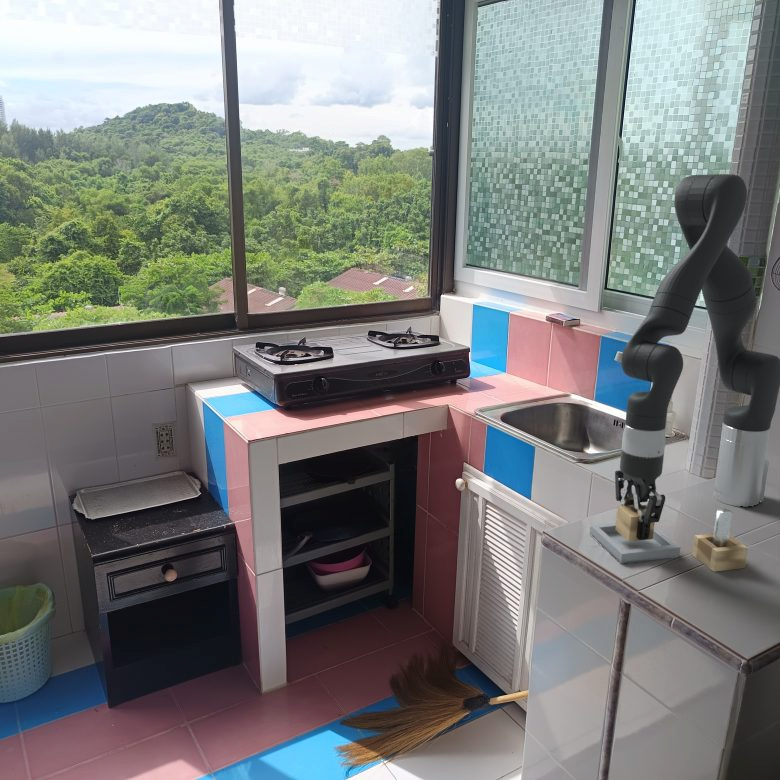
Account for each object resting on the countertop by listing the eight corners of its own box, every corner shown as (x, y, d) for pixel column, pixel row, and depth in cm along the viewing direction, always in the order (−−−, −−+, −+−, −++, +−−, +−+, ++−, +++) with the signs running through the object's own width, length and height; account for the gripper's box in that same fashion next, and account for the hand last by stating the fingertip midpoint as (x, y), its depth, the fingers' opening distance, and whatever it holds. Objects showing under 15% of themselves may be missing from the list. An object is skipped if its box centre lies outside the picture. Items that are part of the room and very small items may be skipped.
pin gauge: (719, 557, 138) (726, 507, 135) (728, 563, 135) (735, 513, 133) (706, 558, 137) (713, 509, 134) (715, 565, 135) (723, 515, 132)
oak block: (722, 551, 140) (724, 531, 139) (744, 567, 134) (747, 547, 133) (692, 554, 138) (694, 535, 137) (713, 571, 132) (716, 551, 131)
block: (638, 527, 144) (641, 503, 143) (652, 539, 139) (655, 514, 138) (615, 529, 143) (617, 505, 142) (628, 541, 138) (631, 516, 137)
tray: (644, 528, 149) (645, 519, 148) (679, 556, 138) (680, 547, 137) (589, 534, 146) (590, 525, 146) (621, 563, 135) (621, 554, 135)
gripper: (683, 460, 131) (673, 547, 135) (640, 434, 144) (632, 514, 149) (645, 463, 129) (636, 551, 134) (605, 437, 143) (598, 518, 147)
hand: (634, 531), depth 141 cm, fingers closed on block, 5 cm apart
